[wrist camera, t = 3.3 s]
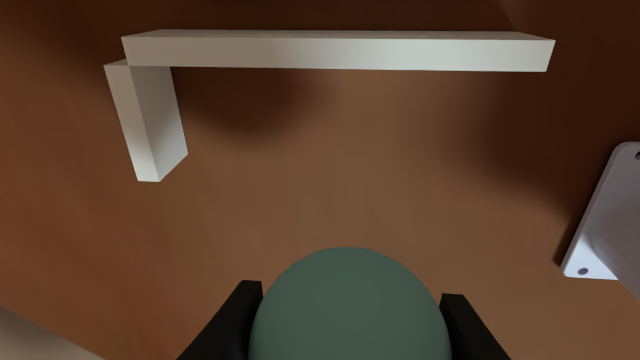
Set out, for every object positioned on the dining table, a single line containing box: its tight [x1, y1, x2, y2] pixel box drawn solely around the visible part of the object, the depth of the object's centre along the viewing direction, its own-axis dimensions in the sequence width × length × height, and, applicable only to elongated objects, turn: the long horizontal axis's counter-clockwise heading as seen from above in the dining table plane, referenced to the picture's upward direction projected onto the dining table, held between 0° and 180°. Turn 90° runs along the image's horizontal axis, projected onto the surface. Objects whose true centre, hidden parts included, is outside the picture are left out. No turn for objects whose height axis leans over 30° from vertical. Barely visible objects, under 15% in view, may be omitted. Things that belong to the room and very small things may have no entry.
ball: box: [248, 247, 452, 360], centre depth 10 cm, size 6×6×6 cm
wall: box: [103, 29, 556, 182], centre depth 14 cm, size 16×6×3 cm, turn 90°
